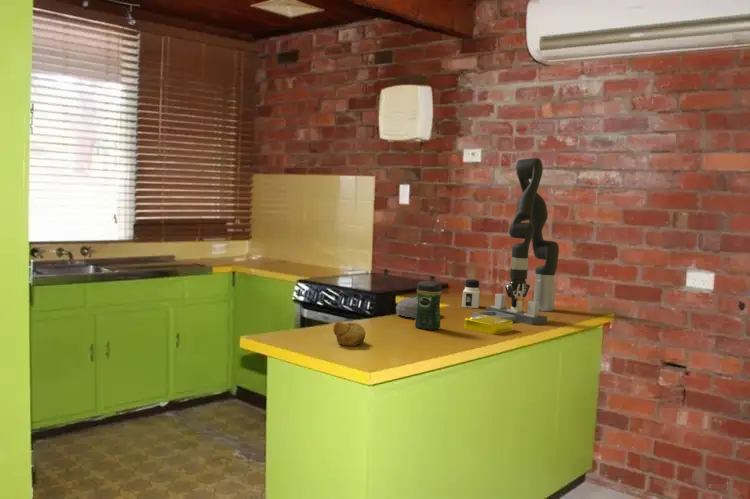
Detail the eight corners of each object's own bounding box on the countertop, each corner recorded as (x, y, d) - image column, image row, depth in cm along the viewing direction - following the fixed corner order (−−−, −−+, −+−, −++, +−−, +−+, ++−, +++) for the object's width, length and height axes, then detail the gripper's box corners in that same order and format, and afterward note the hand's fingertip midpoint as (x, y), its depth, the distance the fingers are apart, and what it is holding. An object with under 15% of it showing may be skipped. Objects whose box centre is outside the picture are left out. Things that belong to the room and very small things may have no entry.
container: (478, 308, 325) (480, 281, 324) (461, 307, 327) (463, 279, 326) (479, 306, 333) (481, 279, 332) (463, 304, 334) (464, 278, 333)
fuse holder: (499, 312, 319) (500, 304, 319) (546, 323, 296) (547, 315, 296) (485, 313, 314) (486, 305, 313) (532, 324, 291) (532, 316, 290)
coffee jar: (442, 328, 272) (445, 281, 271) (434, 331, 266) (437, 283, 264) (420, 324, 277) (423, 279, 276) (411, 327, 270) (414, 280, 269)
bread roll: (347, 338, 246) (348, 316, 245) (372, 342, 242) (373, 319, 241) (330, 344, 234) (331, 321, 233) (355, 348, 230) (357, 325, 229)
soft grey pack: (409, 310, 310) (388, 316, 293) (410, 292, 310) (389, 297, 292) (440, 315, 303) (420, 321, 285) (441, 296, 302) (421, 301, 285)
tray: (494, 316, 306) (494, 310, 306) (515, 321, 296) (516, 316, 296) (472, 318, 299) (472, 312, 299) (493, 323, 288) (494, 317, 288)
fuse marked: (514, 316, 307) (515, 296, 306) (520, 317, 304) (522, 297, 303) (510, 316, 306) (511, 296, 305) (516, 318, 302) (518, 297, 302)
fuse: (530, 321, 299) (532, 300, 298) (537, 323, 296) (539, 302, 295) (526, 321, 298) (528, 301, 297) (533, 323, 294) (535, 302, 294)
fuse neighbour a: (497, 313, 315) (499, 293, 315) (504, 314, 312) (505, 295, 311) (493, 313, 314) (495, 293, 313) (500, 315, 311) (501, 295, 310)
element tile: (493, 335, 266) (494, 323, 265) (461, 328, 276) (462, 317, 276) (514, 331, 277) (515, 319, 276) (483, 325, 287) (483, 313, 287)
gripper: (523, 266, 310) (521, 304, 311) (501, 267, 302) (498, 306, 303) (536, 268, 304) (533, 307, 305) (514, 269, 296) (511, 309, 297)
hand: (516, 306), depth 304 cm, fingers closed on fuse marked, 2 cm apart
